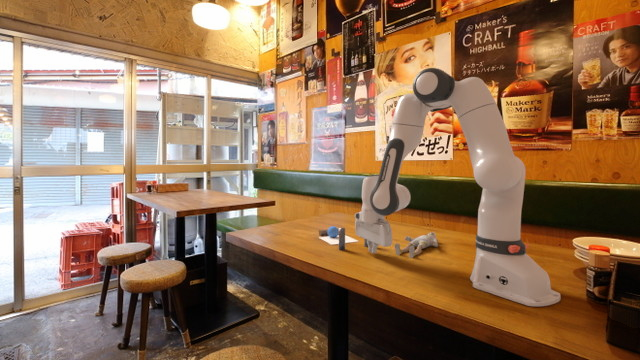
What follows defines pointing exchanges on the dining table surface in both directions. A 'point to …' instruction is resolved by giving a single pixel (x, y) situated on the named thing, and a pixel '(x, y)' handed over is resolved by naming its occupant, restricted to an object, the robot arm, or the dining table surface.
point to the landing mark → (337, 240)
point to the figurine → (417, 244)
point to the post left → (341, 238)
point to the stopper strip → (323, 232)
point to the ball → (333, 231)
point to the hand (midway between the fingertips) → (372, 252)
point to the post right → (365, 243)
